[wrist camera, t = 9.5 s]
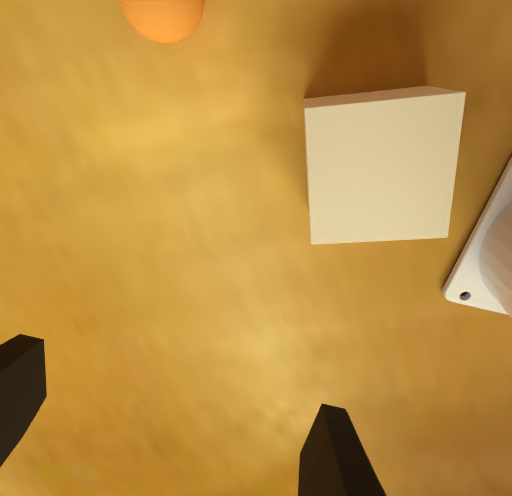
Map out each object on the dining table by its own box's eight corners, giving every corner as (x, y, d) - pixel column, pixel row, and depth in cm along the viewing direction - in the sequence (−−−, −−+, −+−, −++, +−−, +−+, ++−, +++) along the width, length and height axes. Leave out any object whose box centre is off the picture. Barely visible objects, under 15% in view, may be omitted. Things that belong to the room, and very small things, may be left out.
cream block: (426, 85, 15) (465, 91, 12) (416, 201, 17) (447, 237, 14) (303, 98, 16) (304, 108, 12) (308, 208, 18) (311, 244, 14)
